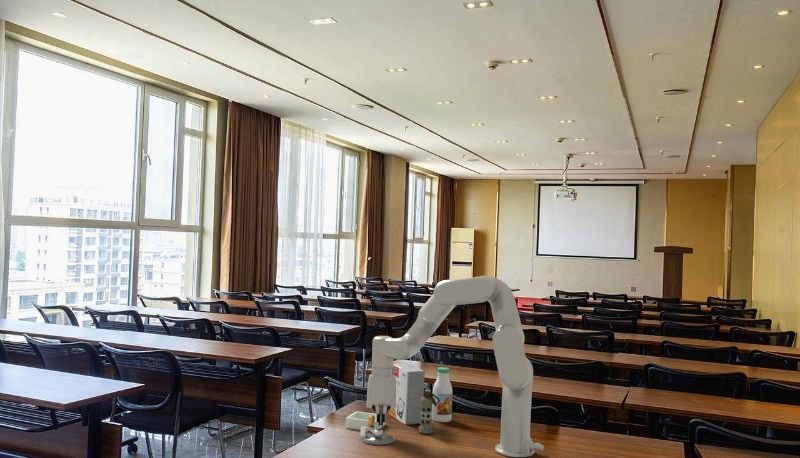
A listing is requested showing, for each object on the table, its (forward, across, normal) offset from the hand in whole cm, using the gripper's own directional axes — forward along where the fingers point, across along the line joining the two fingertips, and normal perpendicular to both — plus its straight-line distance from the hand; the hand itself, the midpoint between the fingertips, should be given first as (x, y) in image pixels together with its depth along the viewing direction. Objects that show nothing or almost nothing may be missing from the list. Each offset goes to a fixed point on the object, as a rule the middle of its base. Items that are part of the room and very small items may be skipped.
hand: (380, 424), depth 233 cm
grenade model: (+4, -17, -6) cm, 19 cm away
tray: (+3, +6, -10) cm, 12 cm away
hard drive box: (+4, -10, -23) cm, 25 cm away
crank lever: (+2, +2, +4) cm, 5 cm away
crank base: (+4, +1, +7) cm, 8 cm away
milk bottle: (+4, -23, -23) cm, 33 cm away
